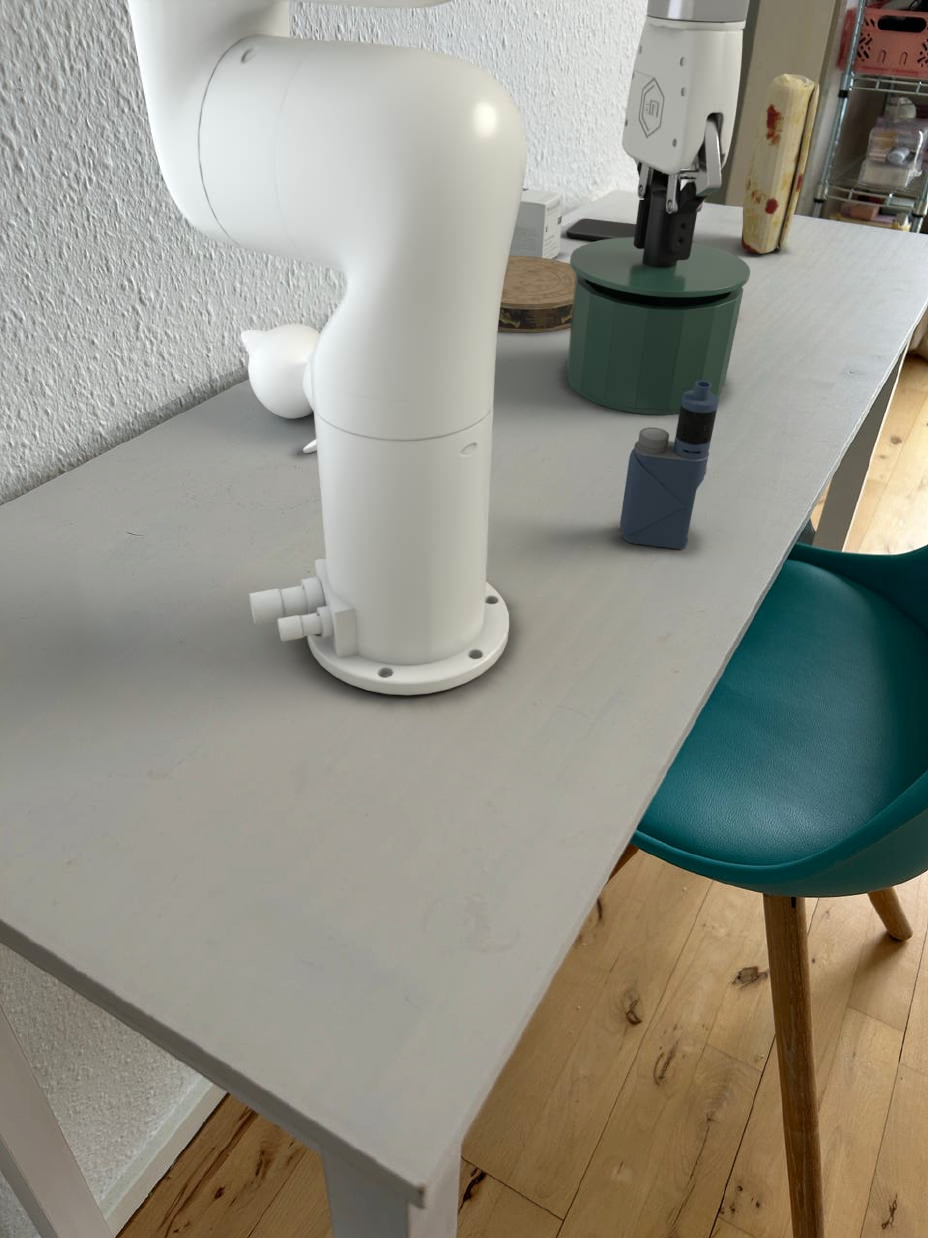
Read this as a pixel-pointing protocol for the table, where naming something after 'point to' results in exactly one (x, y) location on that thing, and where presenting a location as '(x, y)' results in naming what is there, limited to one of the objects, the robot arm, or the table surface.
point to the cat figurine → (283, 369)
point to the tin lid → (658, 264)
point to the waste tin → (648, 346)
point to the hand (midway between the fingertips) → (661, 251)
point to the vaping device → (668, 474)
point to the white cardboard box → (538, 224)
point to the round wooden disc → (536, 295)
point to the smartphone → (601, 229)
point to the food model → (778, 162)
